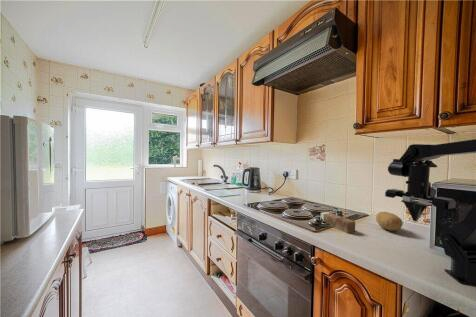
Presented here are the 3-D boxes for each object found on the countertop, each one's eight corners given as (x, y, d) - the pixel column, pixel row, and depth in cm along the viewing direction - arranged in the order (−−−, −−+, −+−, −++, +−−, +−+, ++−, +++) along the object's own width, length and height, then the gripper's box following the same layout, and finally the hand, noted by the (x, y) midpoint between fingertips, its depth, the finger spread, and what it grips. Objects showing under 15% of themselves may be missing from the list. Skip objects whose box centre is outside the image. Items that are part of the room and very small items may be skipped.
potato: (390, 225, 105) (391, 210, 104) (408, 235, 91) (409, 218, 90) (370, 223, 106) (370, 208, 106) (384, 233, 92) (385, 216, 92)
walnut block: (355, 221, 93) (327, 211, 108) (347, 222, 91) (320, 212, 106) (354, 232, 93) (327, 221, 108) (347, 233, 91) (320, 222, 106)
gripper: (465, 182, 68) (461, 227, 69) (401, 175, 85) (399, 211, 86) (449, 183, 63) (445, 231, 64) (385, 175, 80) (383, 214, 81)
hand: (415, 220), depth 74 cm, fingers closed
